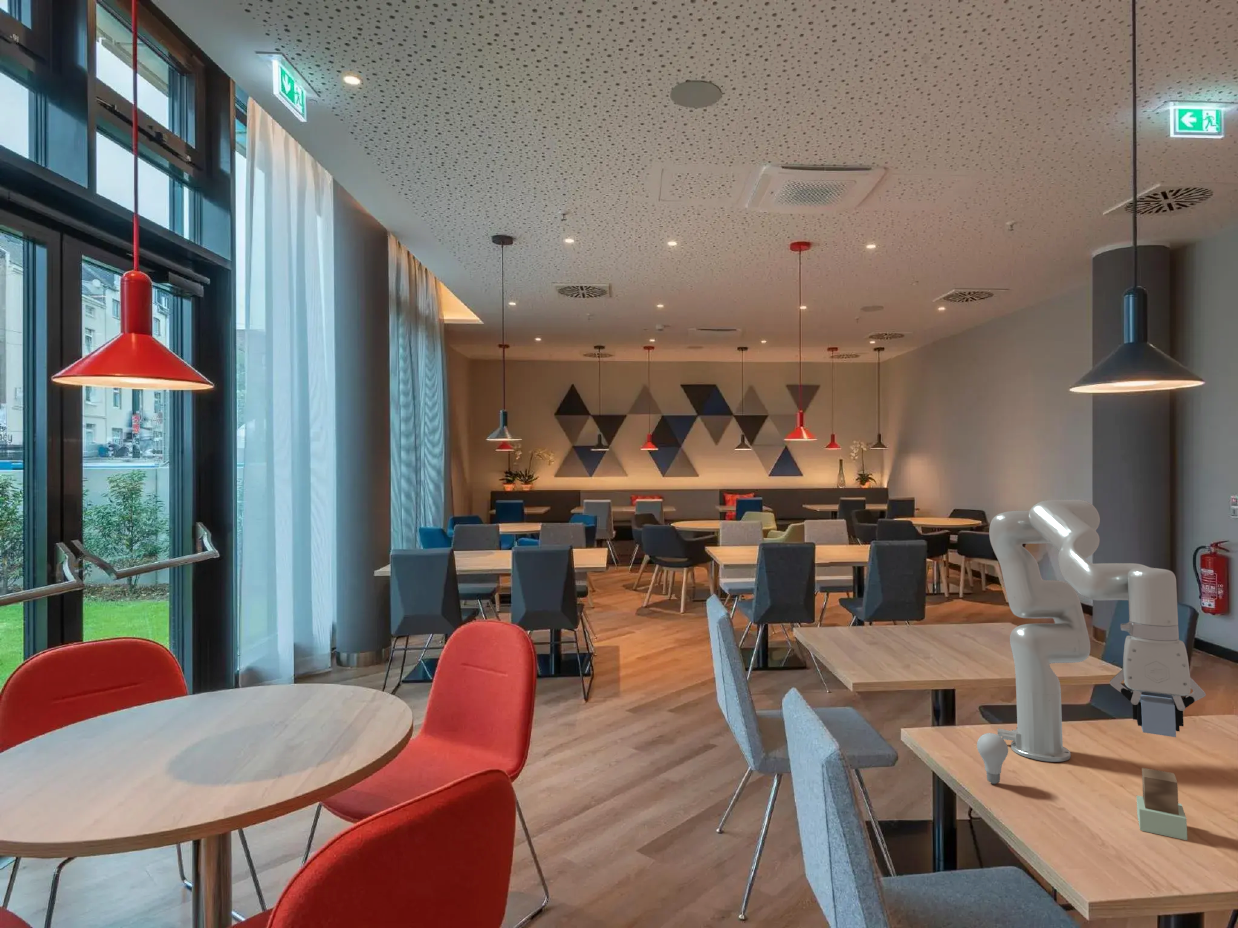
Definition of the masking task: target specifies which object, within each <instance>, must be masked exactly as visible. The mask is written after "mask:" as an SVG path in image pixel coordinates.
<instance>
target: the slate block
mask: <svg viewBox="0 0 1238 928" xmlns="http://www.w3.org/2000/svg"><path fill="white" fill-rule="evenodd" d="M1139 700H1140V703H1141V708H1142V725H1141V726H1140V728H1141V731H1142V733H1145V734H1150V735H1157V736H1158V735H1159V736H1165V737H1172V738H1177V731H1176V723H1175V705H1174V704H1175V702H1174V699H1173V697H1172V698H1170V697H1166V696H1165V697H1163V696H1155V695H1146V694H1141V696H1140V699H1139Z"/></svg>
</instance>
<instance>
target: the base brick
mask: <svg viewBox="0 0 1238 928" xmlns="http://www.w3.org/2000/svg"><path fill="white" fill-rule="evenodd" d="M1183 807H1184V806H1183V804H1182V803H1179V802H1178V809H1179V815H1176V814H1171V813H1166V812H1161V811H1156V810H1151V809H1146V808H1145V805H1144V800H1143V795H1136V813H1137V814H1136V816H1137V821H1139V822H1138V824H1139V825H1138V826H1139V830H1142V831H1141V832H1146V833H1151V834H1155V835H1161V836H1165V837H1169V838H1172V839H1173V838H1174V839H1178V840H1185V841H1188V823H1187V820H1188V819H1187V816H1186V812H1185V811H1184V808H1183Z"/></svg>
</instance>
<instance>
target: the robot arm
mask: <svg viewBox="0 0 1238 928" xmlns="http://www.w3.org/2000/svg"><path fill="white" fill-rule="evenodd" d="M1100 518H1101V517H1100V513H1099V512H1098V509H1097V508H1096V507H1095V506H1094V505H1093V504H1092V503H1090V502H1088V501H1086V500H1082V499H1046V500H1042V501H1039V502H1037V503H1036V504H1034V505H1033V506H1032V507H1031V508H1030V509H1029V510H1011V511H1005V512H1001V513H998V514H996V515H995V516H993V518H992V519H991V521H990V525H989V528H988V529H989V530H988V531H989V533H988V534H989V541H990V545H991V547H992V549H993V552H994V555H995V557H996V558H997V561H998V563H999V565H1000V566H999V567H1000V569H1001V574H1002V579H1003V583H1004V588H1005V592H1006V597H1007V603H1008V606H1009V609H1010V612H1012V614H1013V615H1014V616H1016V617H1018V618H1022V619H1053V621H1054V623H1025V624H1021V625H1018V626H1016V627H1014V628H1013V629H1012V630H1011V632H1010V635H1009V644H1010V651H1011V653H1012V658H1013V662H1014V672H1015V674H1014V675H1015V691H1016V694H1015V696H1016V698H1015V699H1016V717H1017V718H1016V723H1017V726H1016V729H1011V730H1007V729H1005V728H1004V729H1003V728H997V735H999V736H1000V737H1002V738H1003V739H1004V741H1011V742H1010V748H1011V750H1012V751H1013V752H1014V753H1016V754H1017V755H1020V756H1023V757H1025V758H1027V759H1032V760H1036V761H1042V762H1049V763H1060V762H1066V761H1068V760H1070V759H1071V755H1072V753H1071V751H1070V750H1069V749H1068V748H1066V747H1065V746H1064V745H1063V743H1064V741H1063V724H1062V723H1063V720H1062V719H1063V718H1062V716H1063V715H1062V689H1061V682H1060V679H1059V677H1058V675H1057V674H1056V673H1055V672H1054V670H1053V669H1052V668H1051V665H1050V664H1069V663H1070V664H1072V663H1081V662H1084V661H1086V660H1087V659H1088V658H1089V656H1090V653H1091V640H1090V636H1089V632H1088V628H1087V624H1086V619H1085V615H1084V611H1083V607H1082V603H1081V600H1080V597H1079V594H1080V595H1081V596H1083V597H1084V598H1087V599H1088V600H1092V601H1128V619H1129V620H1128V622H1126V623H1120V631H1122V632H1123V631H1125V632H1127V633H1128V634H1129V635H1126V637H1125V640H1124V644H1123V645H1124V647H1123V648H1124V649H1123V660H1122V669H1121V670H1119V672H1118V673H1116V674H1115V676H1113V677H1112V678H1111V680H1110V681H1109V684H1110V686H1111V687H1113V688H1114V689H1115V690H1117V691H1118V692H1120V693H1121V694H1122V695H1123V696H1124V697H1125V699H1127V700H1128V701H1129V702H1130V703H1131V708H1132V710H1131V711H1132V720H1133V721H1134V720H1135V721H1136V724H1137V726H1139V727H1141V725H1142V708H1141V703H1140V696H1141V695H1142V693H1152V694H1161V695H1167V696H1172V700H1173V702H1174V705H1175V723H1176V732H1179V733H1180V729H1181V728H1180V727H1184V711H1185V710H1186V709H1187V708H1188V707H1189V706H1192V704H1194V703H1195V702H1197V701H1198V700H1201V699H1202V698H1205V697H1206V694H1207V693H1206V692H1205V691H1204V690H1203V689H1202V688H1201V687H1200V685H1198V683H1197V682H1196V681H1195V680H1194V679H1193V678H1192V677H1191V671H1190V666H1189V665H1190V664H1189V657H1188V653H1187V652H1188V651H1187V648H1186V645H1185V642H1183V640H1180V638H1179V637H1180V636H1179V635H1180V634H1179V614H1178V612H1179V611H1178V593H1177V591H1178V590H1177V579H1176V575H1175V573H1174V572H1173V571H1172V570H1169V569H1165V568H1157V567H1155V568H1154V567H1150V566H1147V565H1144V564H1141V563H1135V562H1134V563H1133V562H1132V563H1129V562H1128V563H1124V562H1123V563H1121V562H1118V563H1116V562H1114V563H1112V562H1111V563H1110V562H1107V563H1101V562H1100V563H1092V562H1090V561H1088V560H1087V559H1088V558H1090V556H1092V555H1093V554H1094V553H1095V552H1096V551H1097V549H1098V547H1099V545H1100V535H1099V533H1098V532H1097V529H1098V528H1099V526H1100V523H1101V522H1100V521H1101V519H1100ZM1023 544H1026V545H1028V544H1030V545H1031V544H1032V545H1034V544H1036V545H1038V544H1040V545H1041V544H1050V545H1052V547H1054V548H1055V549H1056V551H1058V556H1057V562H1058V563H1057V564H1058V568H1059V571H1060V575H1061V576H1062V577H1063V579H1064V580H1065V581H1063V580H1060V579H1059V580H1056V579H1055V580H1054V579H1053V580H1052V579H1049V580H1048V579H1047V580H1046V579H1043V578H1042V574H1041V571H1040V566H1039V564H1038V560H1037V559H1036V558H1035V557H1034V555H1032V553H1031V552H1030V551H1029V550H1028V549H1027V548H1025V547H1024V546H1023ZM1122 682H1123V683H1124V685H1125V686H1126V687H1125V686H1124V685H1123V684H1122ZM1130 690H1131V691H1130ZM1191 690H1192V692H1191Z"/></svg>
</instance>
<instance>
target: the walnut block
mask: <svg viewBox="0 0 1238 928" xmlns="http://www.w3.org/2000/svg"><path fill="white" fill-rule="evenodd" d="M1141 778H1142V780H1141V783H1142V797H1143V800H1144V805H1145V808H1146V809H1151V810H1156V811H1161V812H1166V813H1171V814H1176V815H1179V809H1178V803H1179V792H1178V791H1179V790H1178V787H1179V786H1178V780H1177V777H1176V775H1175V773H1174V772H1170V771H1169V772H1168V771H1162V770H1158V769H1157V770H1156V769H1151V768H1146V767H1141Z"/></svg>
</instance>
